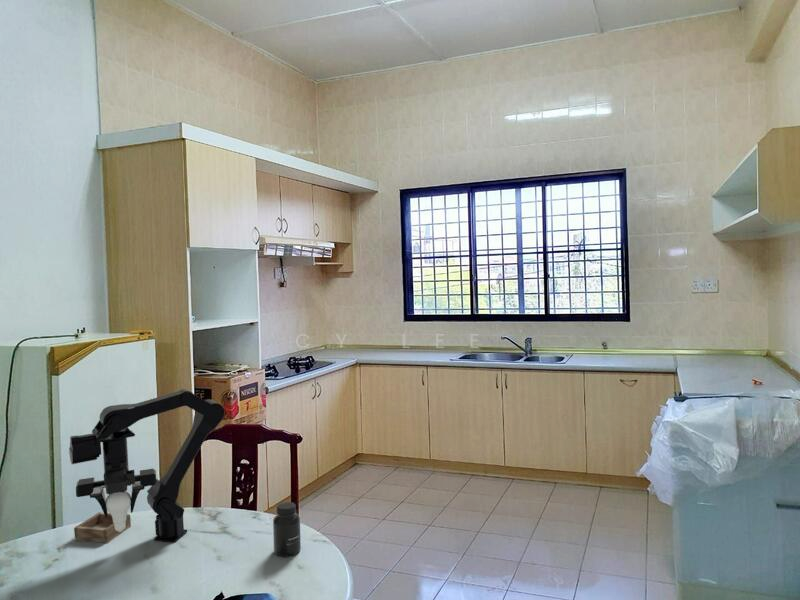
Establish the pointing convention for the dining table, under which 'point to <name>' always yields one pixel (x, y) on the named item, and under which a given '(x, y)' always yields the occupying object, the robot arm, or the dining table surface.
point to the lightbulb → (118, 508)
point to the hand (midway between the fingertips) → (119, 514)
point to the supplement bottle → (286, 530)
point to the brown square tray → (99, 528)
